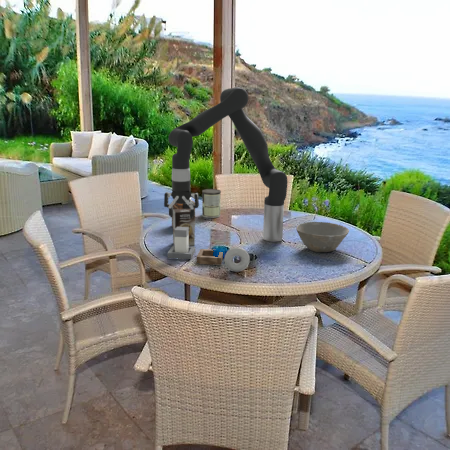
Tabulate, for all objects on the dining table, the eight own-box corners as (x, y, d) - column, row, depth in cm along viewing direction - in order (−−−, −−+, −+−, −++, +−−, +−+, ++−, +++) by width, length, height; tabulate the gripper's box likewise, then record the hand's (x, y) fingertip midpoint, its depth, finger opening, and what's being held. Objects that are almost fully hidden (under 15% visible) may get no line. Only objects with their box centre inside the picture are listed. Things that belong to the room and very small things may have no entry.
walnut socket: (223, 256, 212) (223, 250, 211) (220, 265, 202) (221, 258, 201) (200, 255, 213) (200, 248, 212) (196, 263, 203) (196, 256, 202)
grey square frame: (195, 252, 217) (195, 246, 216) (191, 259, 207) (191, 254, 207) (172, 250, 218) (172, 245, 217) (167, 258, 208) (167, 252, 208)
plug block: (188, 253, 215) (188, 227, 211) (186, 257, 210) (186, 230, 207) (177, 253, 215) (177, 226, 212) (174, 257, 210) (174, 229, 207)
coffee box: (175, 247, 223) (175, 212, 219) (172, 242, 229) (172, 208, 225) (195, 245, 225) (195, 211, 221) (192, 241, 231) (192, 207, 227)
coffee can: (198, 215, 278) (198, 190, 274) (212, 212, 284) (213, 188, 280) (209, 218, 270) (209, 193, 266) (224, 216, 277) (224, 191, 273)
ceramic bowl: (286, 244, 230) (287, 223, 227) (329, 240, 237) (331, 220, 235) (311, 260, 210) (312, 237, 207) (357, 255, 217) (359, 233, 215)
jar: (185, 230, 248) (185, 201, 244) (167, 227, 254) (166, 198, 249) (199, 225, 257) (199, 197, 253) (181, 222, 263) (180, 194, 259)
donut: (249, 270, 197) (249, 246, 195) (249, 273, 194) (250, 248, 191) (223, 269, 197) (224, 245, 194) (224, 272, 194) (224, 248, 191)
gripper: (199, 177, 206) (199, 215, 211) (166, 176, 208) (167, 214, 212) (196, 181, 199) (197, 220, 204) (161, 180, 201) (162, 218, 205)
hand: (181, 217), depth 208 cm, fingers open, 8 cm apart
